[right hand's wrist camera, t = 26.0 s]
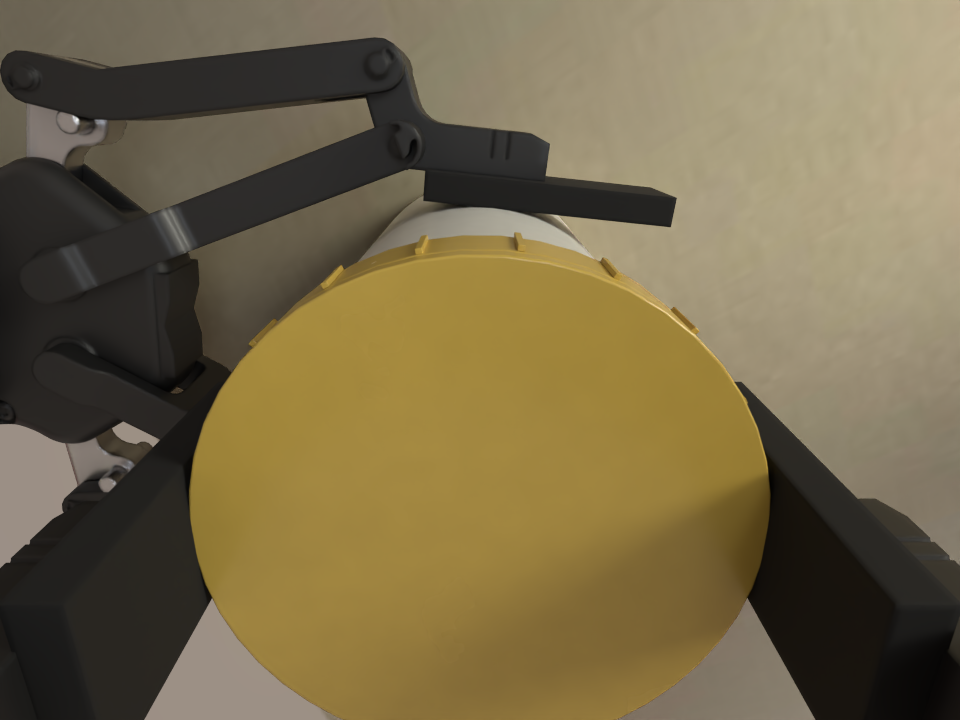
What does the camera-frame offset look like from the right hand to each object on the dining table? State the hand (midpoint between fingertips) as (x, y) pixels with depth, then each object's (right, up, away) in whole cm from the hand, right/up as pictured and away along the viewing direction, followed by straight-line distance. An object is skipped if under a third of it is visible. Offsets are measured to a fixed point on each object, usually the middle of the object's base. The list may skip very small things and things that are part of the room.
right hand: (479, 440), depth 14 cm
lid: (0, -1, -3) cm, 3 cm away
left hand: (+4, +2, +6) cm, 8 cm away
